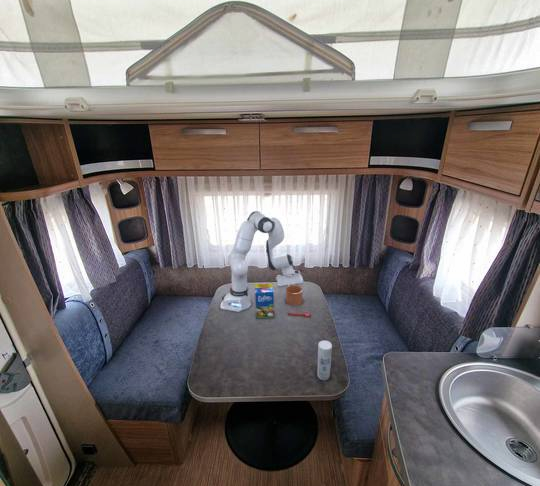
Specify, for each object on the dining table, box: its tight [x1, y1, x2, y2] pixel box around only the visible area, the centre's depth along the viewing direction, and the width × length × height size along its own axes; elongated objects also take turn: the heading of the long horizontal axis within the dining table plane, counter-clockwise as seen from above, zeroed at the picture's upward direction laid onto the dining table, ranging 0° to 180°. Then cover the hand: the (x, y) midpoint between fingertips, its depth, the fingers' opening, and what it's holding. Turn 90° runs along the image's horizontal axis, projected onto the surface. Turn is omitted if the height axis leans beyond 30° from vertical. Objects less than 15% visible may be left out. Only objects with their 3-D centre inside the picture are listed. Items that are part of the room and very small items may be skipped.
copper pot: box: [285, 285, 304, 306], centre depth 209 cm, size 12×12×10 cm
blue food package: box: [254, 283, 275, 319], centre depth 190 cm, size 6×12×25 cm, turn 92°
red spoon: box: [287, 312, 311, 318], centre depth 194 cm, size 15×4×1 cm, turn 81°
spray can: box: [316, 339, 333, 381], centre depth 141 cm, size 6×6×20 cm
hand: (292, 290), depth 215 cm, fingers closed, pressing on copper pot
